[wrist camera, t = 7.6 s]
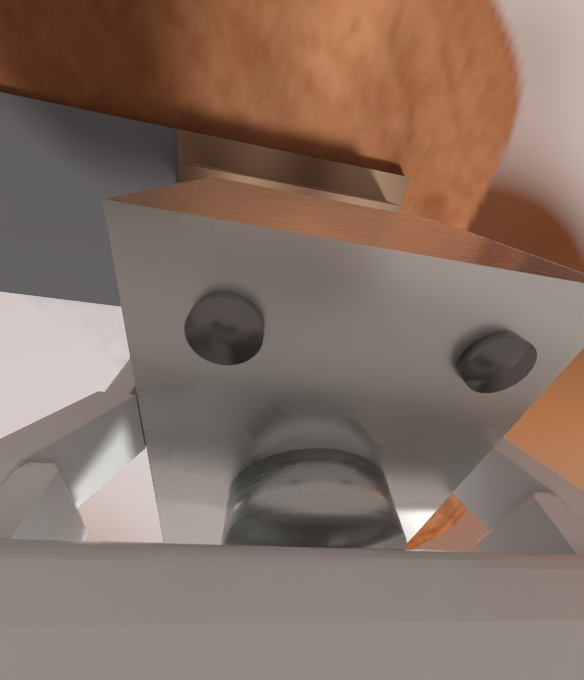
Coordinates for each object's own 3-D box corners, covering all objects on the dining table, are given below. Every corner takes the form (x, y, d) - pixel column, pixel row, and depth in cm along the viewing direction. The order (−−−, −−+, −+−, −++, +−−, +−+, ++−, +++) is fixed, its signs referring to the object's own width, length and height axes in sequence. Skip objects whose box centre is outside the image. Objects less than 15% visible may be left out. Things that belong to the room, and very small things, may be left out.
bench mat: (-21, 286, 20) (-26, 288, 20) (-124, 66, 14) (-134, 64, 14) (200, 313, 22) (199, 316, 22) (198, 133, 16) (197, 133, 16)
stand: (188, 312, 22) (175, 334, 19) (181, 129, 16) (160, 122, 13) (352, 332, 24) (362, 355, 21) (405, 176, 18) (429, 179, 15)
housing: (212, 177, 7) (16, 216, 2) (435, 219, 7) (753, 335, 2) (208, 437, 12) (158, 634, 7) (339, 446, 13) (378, 630, 8)
